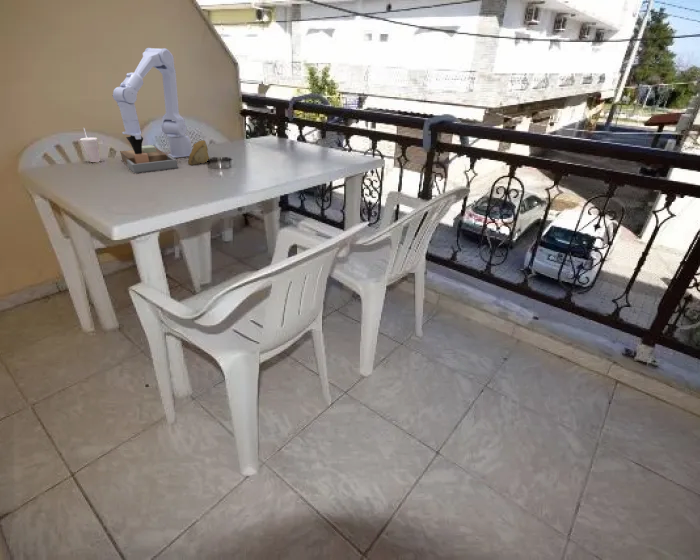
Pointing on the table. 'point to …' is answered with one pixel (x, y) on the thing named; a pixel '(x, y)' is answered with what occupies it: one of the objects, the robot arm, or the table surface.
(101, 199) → the table surface
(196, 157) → the rock
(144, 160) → the terracotta tile
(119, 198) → the table surface
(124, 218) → the table surface
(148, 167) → the box
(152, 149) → the sage tile
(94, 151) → the smoothie
